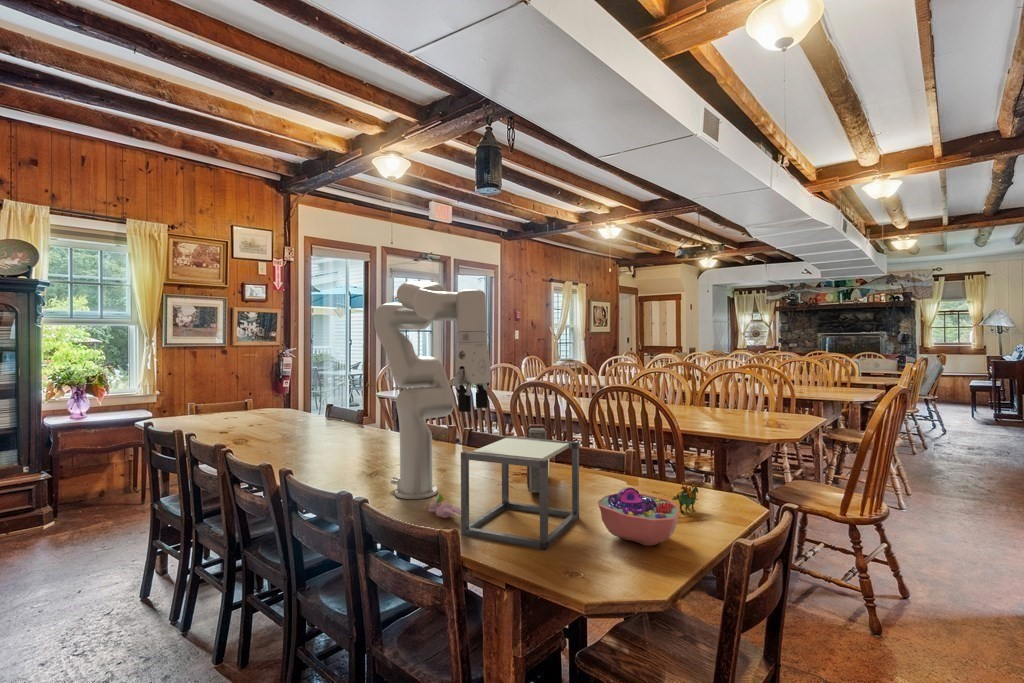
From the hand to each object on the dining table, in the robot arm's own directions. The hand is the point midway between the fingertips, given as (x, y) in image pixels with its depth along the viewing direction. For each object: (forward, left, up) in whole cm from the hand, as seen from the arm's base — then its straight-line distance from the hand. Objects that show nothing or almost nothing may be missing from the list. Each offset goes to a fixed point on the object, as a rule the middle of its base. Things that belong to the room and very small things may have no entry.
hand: (473, 409), depth 132 cm
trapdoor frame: (+12, +4, -29) cm, 31 cm away
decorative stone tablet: (+1, +39, -29) cm, 48 cm away
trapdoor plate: (+12, +4, -10) cm, 16 cm away
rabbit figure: (-10, +1, -29) cm, 31 cm away
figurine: (+47, +31, -29) cm, 63 cm away
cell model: (+40, +7, -29) cm, 50 cm away
